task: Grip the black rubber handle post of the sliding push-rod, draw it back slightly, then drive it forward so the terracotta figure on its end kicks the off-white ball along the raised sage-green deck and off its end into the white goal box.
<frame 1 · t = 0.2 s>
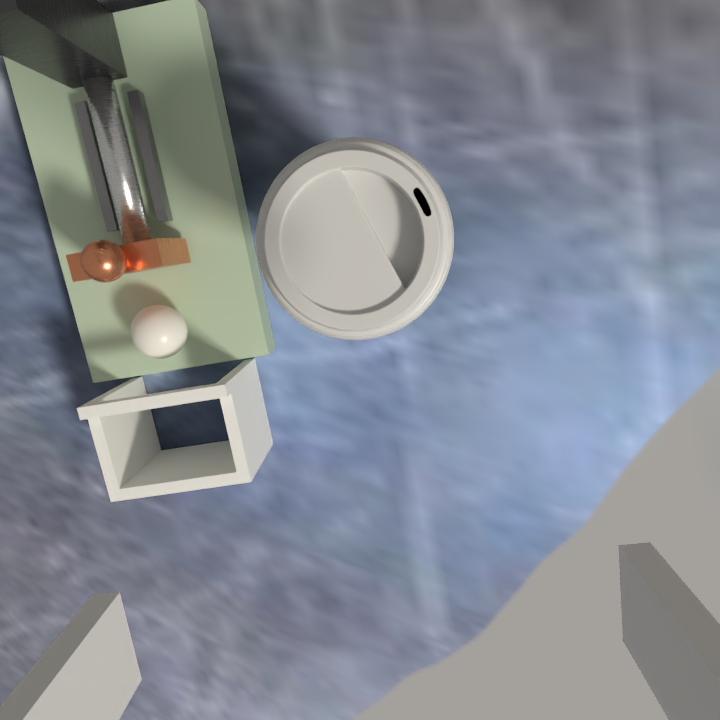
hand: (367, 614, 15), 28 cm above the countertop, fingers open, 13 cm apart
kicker: (75, 140, 31), point 9 cm above the countertop, slide at 1.0 cm
goal: (201, 406, 43), on the countertop
ball: (159, 331, 38), point 4 cm above the countertop, touching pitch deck
coffee cup: (365, 241, 40), on the countertop
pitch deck: (154, 205, 40), on the countertop
rail guide: (130, 164, 37), resting on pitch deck
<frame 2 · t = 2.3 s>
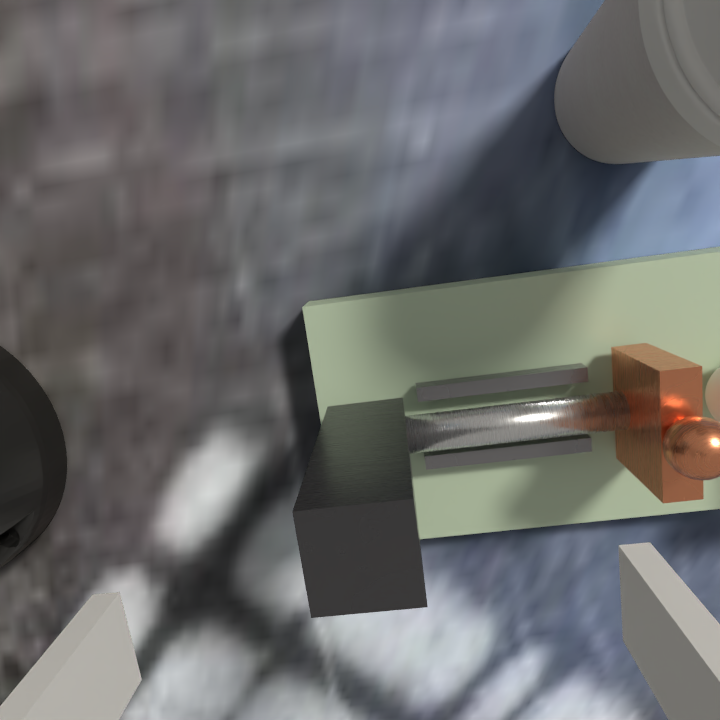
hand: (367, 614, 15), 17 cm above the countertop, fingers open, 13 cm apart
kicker: (519, 463, 22), point 9 cm above the countertop, slide at 1.0 cm
coffee cup: (620, 94, 27), on the countertop
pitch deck: (537, 393, 30), on the countertop
rail guide: (499, 412, 28), resting on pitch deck
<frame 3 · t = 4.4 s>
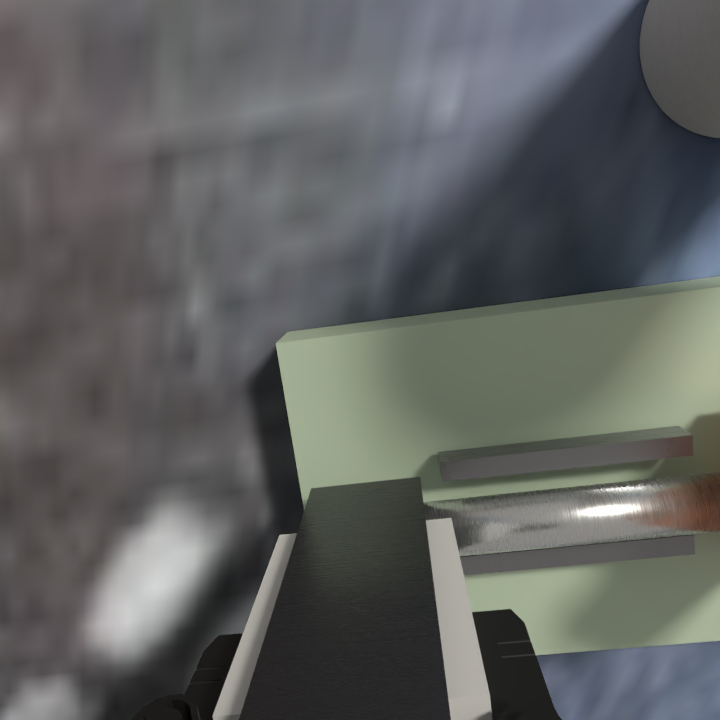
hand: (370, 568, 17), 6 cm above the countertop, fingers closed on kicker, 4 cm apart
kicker: (612, 610, 14), point 9 cm above the countertop, slide at 1.0 cm, touching gripper
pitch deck: (605, 458, 22), on the countertop
rail guide: (557, 492, 20), resting on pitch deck
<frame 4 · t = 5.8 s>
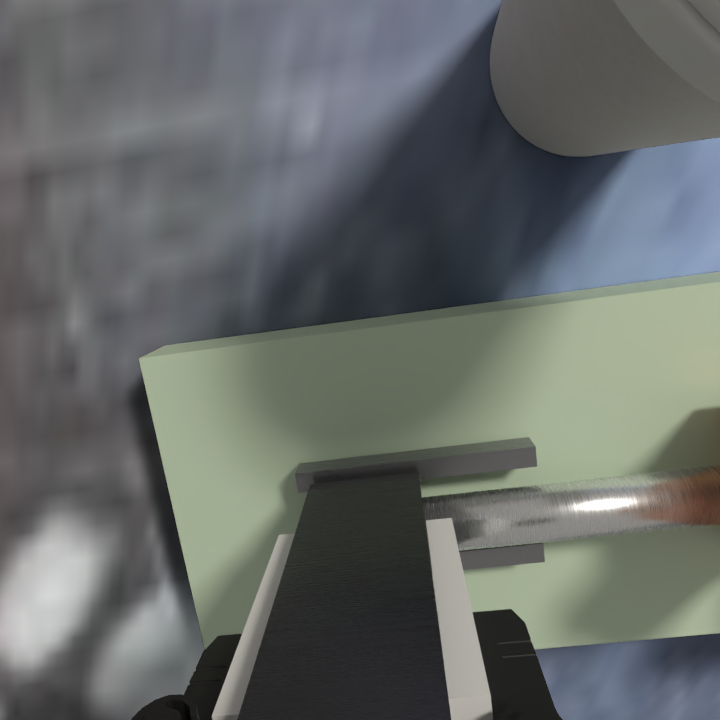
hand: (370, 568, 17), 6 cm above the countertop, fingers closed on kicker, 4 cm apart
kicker: (609, 602, 14), point 9 cm above the countertop, slide at 5.8 cm, touching gripper
coffee cup: (583, 58, 19), on the countertop
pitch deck: (478, 467, 22), on the countertop
rail guide: (418, 502, 20), resting on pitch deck
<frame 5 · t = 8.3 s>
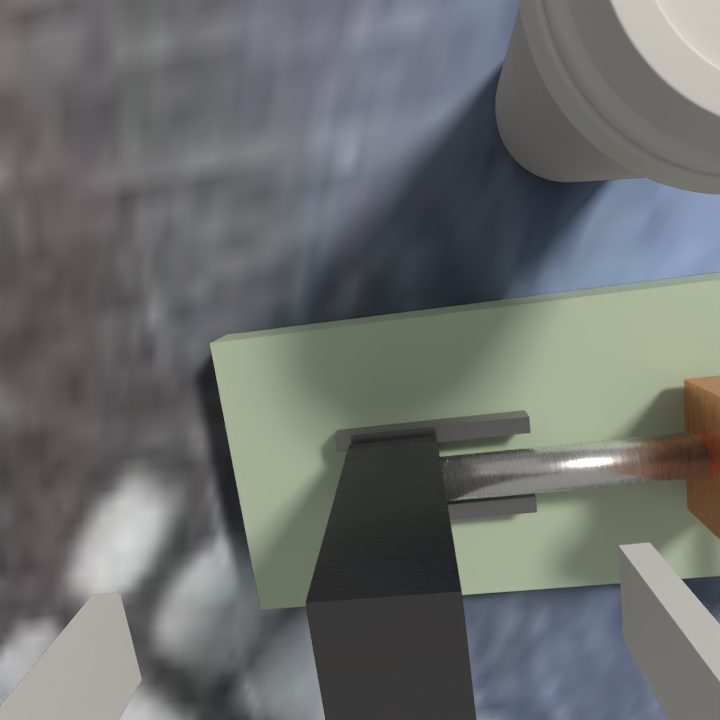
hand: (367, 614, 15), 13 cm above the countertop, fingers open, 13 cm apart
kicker: (581, 525, 18), point 9 cm above the countertop, slide at 5.9 cm
coffee cup: (572, 102, 24), on the countertop
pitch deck: (484, 439, 27), on the countertop
rail guide: (434, 463, 25), resting on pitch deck
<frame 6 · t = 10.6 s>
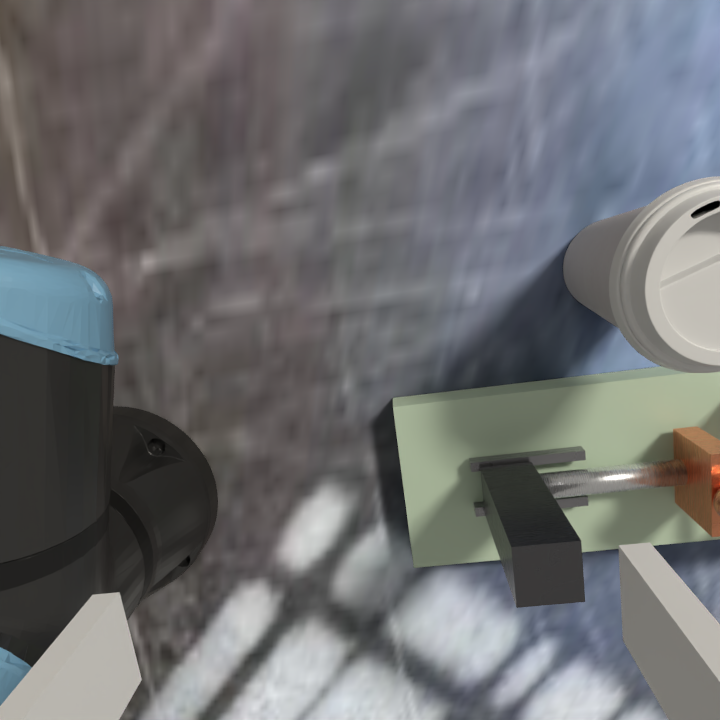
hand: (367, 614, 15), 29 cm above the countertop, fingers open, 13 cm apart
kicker: (621, 512, 35), point 9 cm above the countertop, slide at 5.9 cm
coffee cup: (608, 265, 41), on the countertop
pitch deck: (551, 461, 44), on the countertop
rail guide: (525, 477, 42), resting on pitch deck
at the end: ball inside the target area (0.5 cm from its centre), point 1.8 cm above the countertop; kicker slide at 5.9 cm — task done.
